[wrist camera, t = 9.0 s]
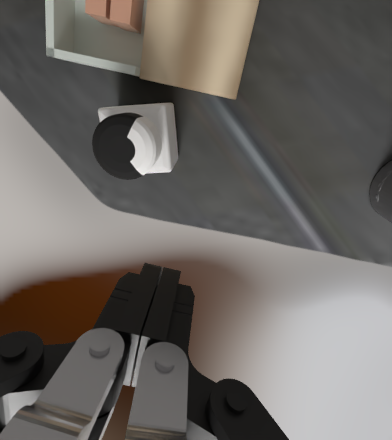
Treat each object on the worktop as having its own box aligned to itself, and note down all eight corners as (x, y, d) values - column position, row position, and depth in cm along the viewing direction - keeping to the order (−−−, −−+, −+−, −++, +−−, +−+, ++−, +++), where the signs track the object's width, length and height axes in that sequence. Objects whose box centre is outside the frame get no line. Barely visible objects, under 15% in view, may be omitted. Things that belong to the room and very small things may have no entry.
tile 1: (134, -34, 26) (113, -39, 25) (129, 24, 27) (109, 19, 27) (145, -16, 30) (127, -20, 30) (140, 34, 31) (123, 29, 31)
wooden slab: (268, -48, 28) (274, -64, 26) (233, 99, 34) (235, 99, 31) (162, -73, 28) (156, -91, 25) (145, 79, 34) (139, 78, 31)
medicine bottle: (127, 162, 38) (92, 188, 27) (117, 106, 35) (74, 110, 24) (178, 159, 37) (164, 185, 27) (173, 102, 35) (155, 104, 24)
